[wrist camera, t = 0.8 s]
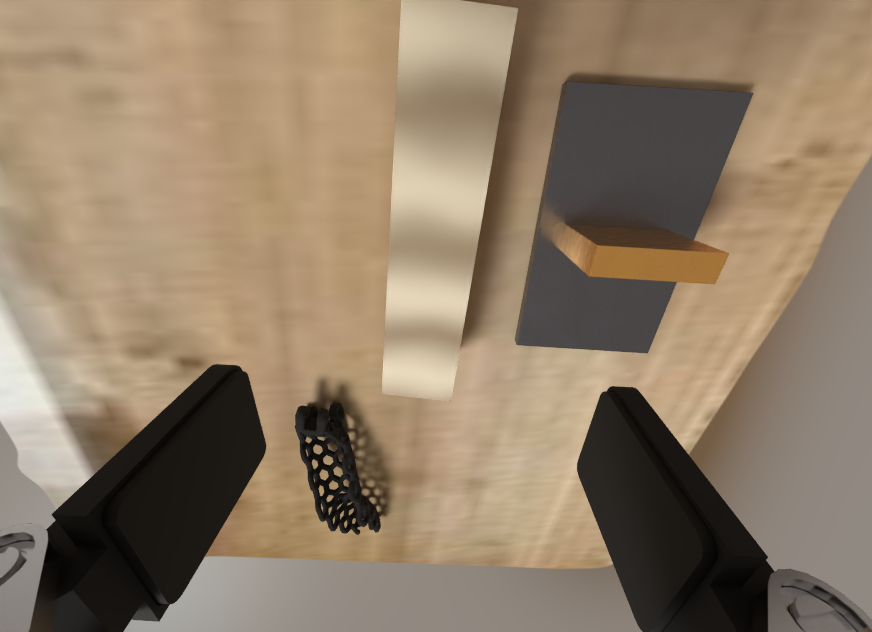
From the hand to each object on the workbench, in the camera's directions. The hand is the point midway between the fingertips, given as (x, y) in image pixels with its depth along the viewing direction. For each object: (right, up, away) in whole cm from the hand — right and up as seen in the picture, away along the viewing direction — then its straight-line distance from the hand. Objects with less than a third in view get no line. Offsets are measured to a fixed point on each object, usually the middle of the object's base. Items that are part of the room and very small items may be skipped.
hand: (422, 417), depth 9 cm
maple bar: (0, +10, +18) cm, 21 cm away
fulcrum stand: (+14, +9, +18) cm, 25 cm away
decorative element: (-10, -14, +31) cm, 36 cm away
